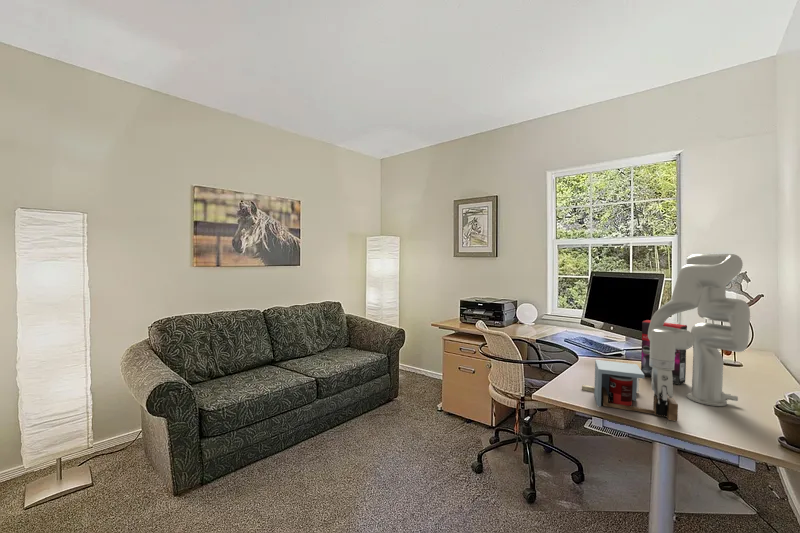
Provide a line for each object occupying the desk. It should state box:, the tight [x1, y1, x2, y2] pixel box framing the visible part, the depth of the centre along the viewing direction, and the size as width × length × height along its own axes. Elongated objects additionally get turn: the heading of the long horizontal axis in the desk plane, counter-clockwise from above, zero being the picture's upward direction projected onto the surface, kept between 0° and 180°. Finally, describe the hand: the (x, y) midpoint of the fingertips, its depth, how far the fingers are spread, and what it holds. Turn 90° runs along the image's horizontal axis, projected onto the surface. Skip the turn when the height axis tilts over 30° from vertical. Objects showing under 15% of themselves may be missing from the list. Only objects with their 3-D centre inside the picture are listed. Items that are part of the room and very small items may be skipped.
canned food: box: [608, 375, 633, 406], centre depth 147 cm, size 8×8×11 cm
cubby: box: [593, 359, 645, 408], centre depth 147 cm, size 15×15×14 cm
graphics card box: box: [640, 319, 688, 385], centre depth 178 cm, size 17×7×27 cm, turn 32°
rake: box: [601, 387, 679, 422], centre depth 142 cm, size 23×15×6 cm, turn 66°
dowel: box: [581, 384, 595, 393], centre depth 160 cm, size 12×2×2 cm, turn 58°
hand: (659, 412), depth 137 cm, fingers closed on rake, 3 cm apart
